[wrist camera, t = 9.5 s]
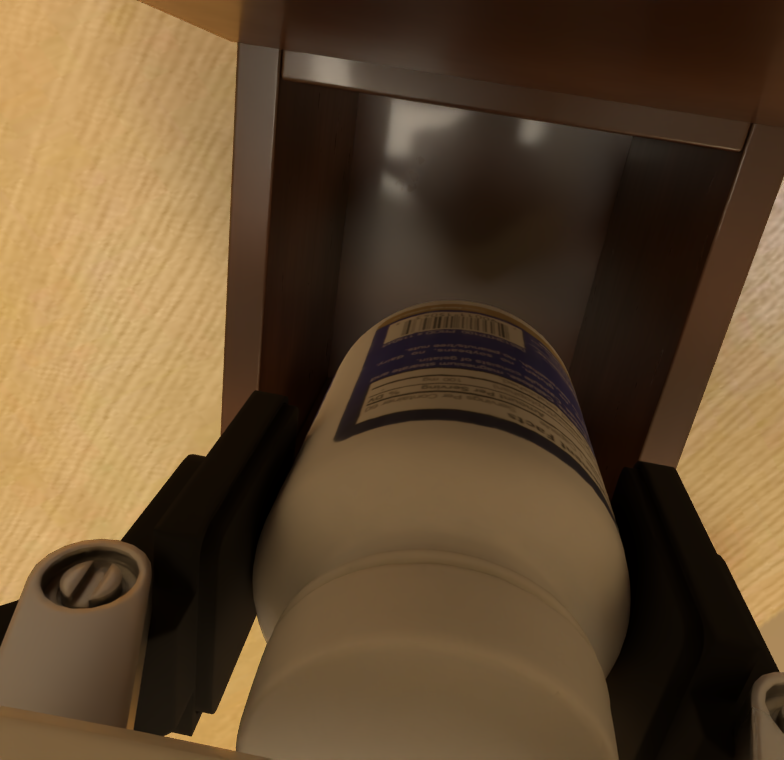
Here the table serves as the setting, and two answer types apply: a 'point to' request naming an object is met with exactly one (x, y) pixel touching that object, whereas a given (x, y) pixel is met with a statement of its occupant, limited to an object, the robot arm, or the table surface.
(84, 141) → the table surface
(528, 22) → the chest lid
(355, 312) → the chest
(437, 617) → the pill bottle
